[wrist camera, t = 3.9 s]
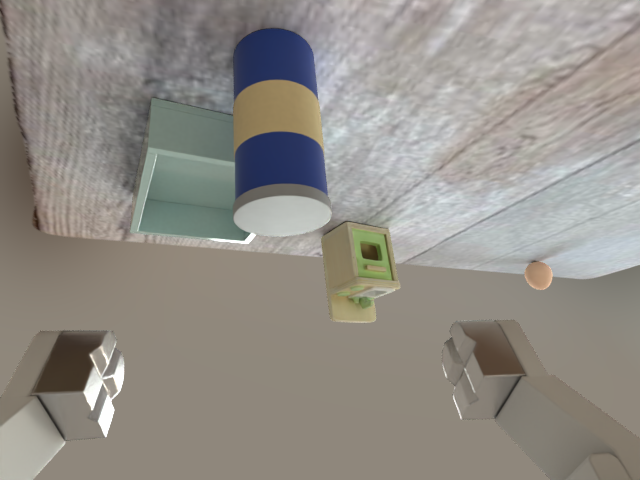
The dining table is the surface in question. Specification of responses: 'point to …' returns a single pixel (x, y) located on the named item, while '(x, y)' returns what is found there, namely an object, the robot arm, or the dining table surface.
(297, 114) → the snack tube
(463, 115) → the dining table surface
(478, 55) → the dining table surface
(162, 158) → the green tray
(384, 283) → the toy sink
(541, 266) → the egg
